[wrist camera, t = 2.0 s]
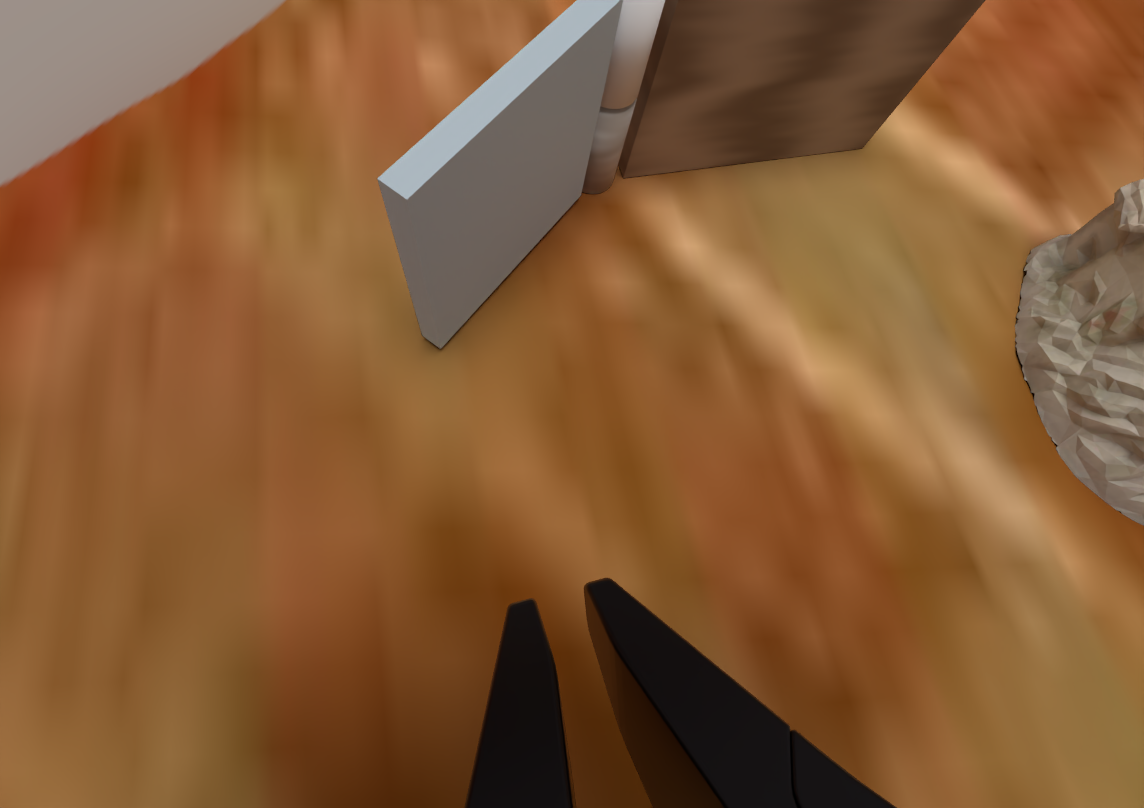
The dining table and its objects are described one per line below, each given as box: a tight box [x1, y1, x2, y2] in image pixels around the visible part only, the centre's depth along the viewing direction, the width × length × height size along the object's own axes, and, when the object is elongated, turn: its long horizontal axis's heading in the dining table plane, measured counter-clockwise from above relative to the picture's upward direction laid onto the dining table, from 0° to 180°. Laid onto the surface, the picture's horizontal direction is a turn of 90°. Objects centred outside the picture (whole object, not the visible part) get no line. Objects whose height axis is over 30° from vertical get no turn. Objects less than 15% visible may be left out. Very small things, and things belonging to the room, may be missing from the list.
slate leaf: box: [377, 0, 665, 349], centre depth 22 cm, size 13×2×10 cm, turn 144°
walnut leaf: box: [582, 0, 985, 194], centre depth 25 cm, size 17×2×10 cm, turn 104°
